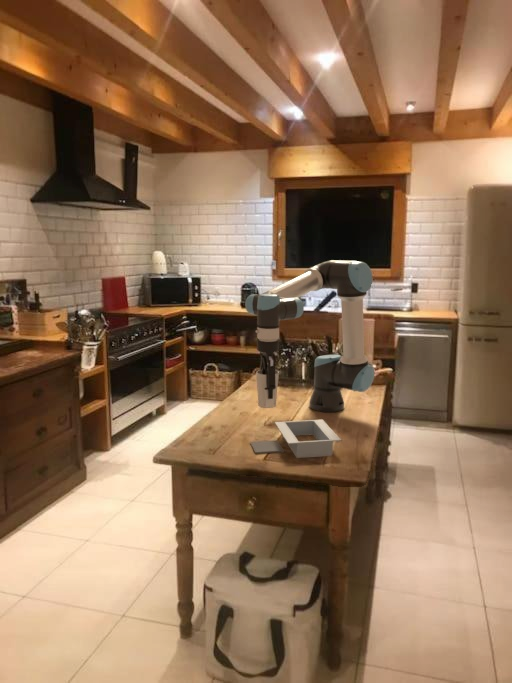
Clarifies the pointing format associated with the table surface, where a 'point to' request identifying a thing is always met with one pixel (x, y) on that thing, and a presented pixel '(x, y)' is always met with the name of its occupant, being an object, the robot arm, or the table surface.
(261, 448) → the pad
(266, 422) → the table surface
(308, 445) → the rectangular frame
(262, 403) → the cup
